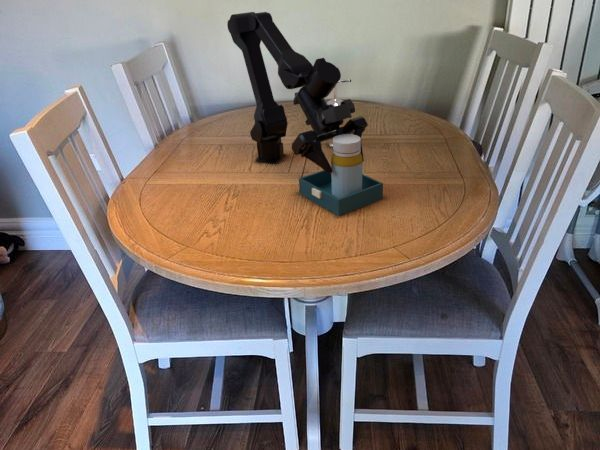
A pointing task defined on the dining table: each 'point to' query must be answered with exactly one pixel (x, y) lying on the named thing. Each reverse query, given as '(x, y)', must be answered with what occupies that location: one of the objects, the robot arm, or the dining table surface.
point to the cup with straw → (336, 103)
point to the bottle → (346, 165)
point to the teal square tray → (321, 193)
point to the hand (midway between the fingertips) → (347, 167)
